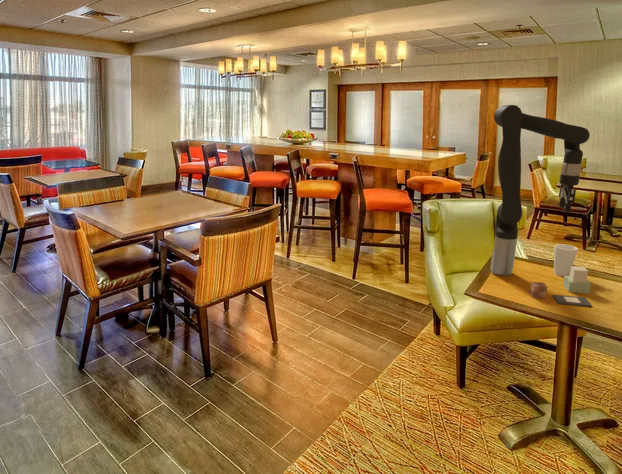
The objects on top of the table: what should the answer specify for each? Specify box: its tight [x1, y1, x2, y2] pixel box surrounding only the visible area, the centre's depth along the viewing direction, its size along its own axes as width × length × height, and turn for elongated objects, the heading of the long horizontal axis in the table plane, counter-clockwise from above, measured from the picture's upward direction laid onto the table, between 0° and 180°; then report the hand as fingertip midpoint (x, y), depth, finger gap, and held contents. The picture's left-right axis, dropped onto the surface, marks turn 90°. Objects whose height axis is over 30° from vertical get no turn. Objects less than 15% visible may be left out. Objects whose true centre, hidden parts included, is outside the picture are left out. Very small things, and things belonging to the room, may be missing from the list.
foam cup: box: [553, 243, 579, 277], centre depth 213 cm, size 10×9×13 cm
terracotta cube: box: [529, 281, 548, 300], centre depth 189 cm, size 5×5×5 cm
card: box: [552, 294, 593, 308], centre depth 184 cm, size 12×8×1 cm, turn 78°
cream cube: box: [569, 265, 589, 282], centre depth 195 cm, size 5×5×5 cm
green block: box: [562, 275, 592, 294], centre depth 197 cm, size 8×8×4 cm
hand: (564, 209), depth 207 cm, fingers open, 8 cm apart
